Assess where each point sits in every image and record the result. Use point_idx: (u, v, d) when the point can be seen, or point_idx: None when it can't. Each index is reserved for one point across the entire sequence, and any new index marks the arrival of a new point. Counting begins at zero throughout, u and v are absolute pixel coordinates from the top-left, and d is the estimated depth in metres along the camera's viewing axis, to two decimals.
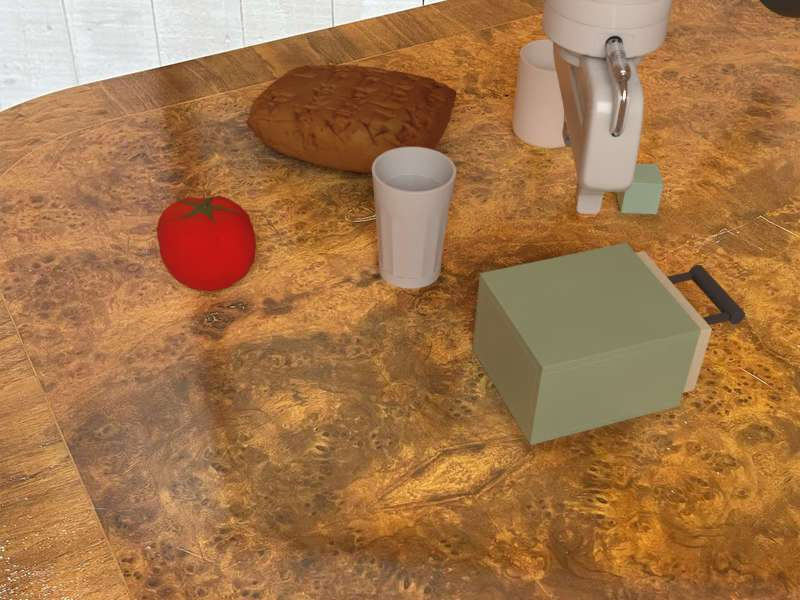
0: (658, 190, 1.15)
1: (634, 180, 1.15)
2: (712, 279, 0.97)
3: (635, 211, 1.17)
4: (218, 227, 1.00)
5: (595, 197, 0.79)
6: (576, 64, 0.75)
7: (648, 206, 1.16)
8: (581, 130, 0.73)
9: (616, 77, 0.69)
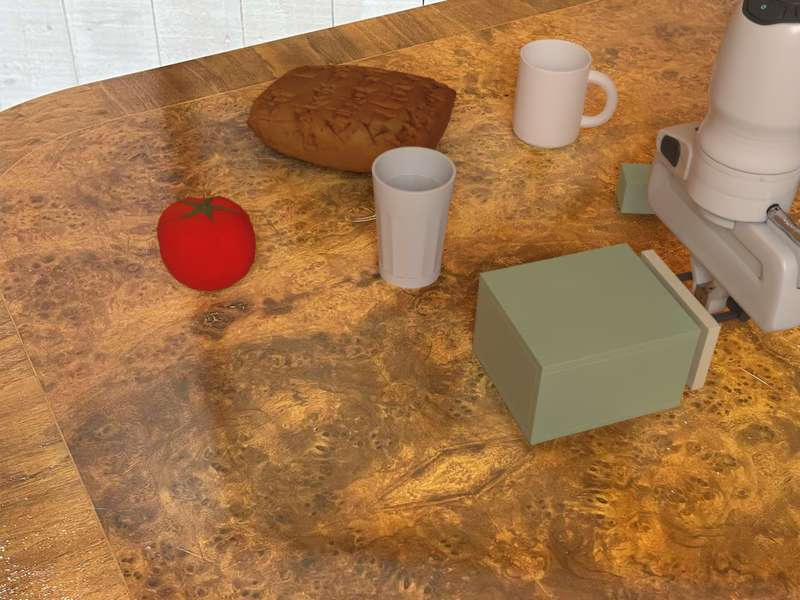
0: None
1: (634, 180, 1.15)
2: None
3: (635, 211, 1.17)
4: (218, 227, 1.00)
5: (723, 299, 0.95)
6: (730, 227, 0.88)
7: (648, 206, 1.16)
8: (757, 284, 0.86)
9: None
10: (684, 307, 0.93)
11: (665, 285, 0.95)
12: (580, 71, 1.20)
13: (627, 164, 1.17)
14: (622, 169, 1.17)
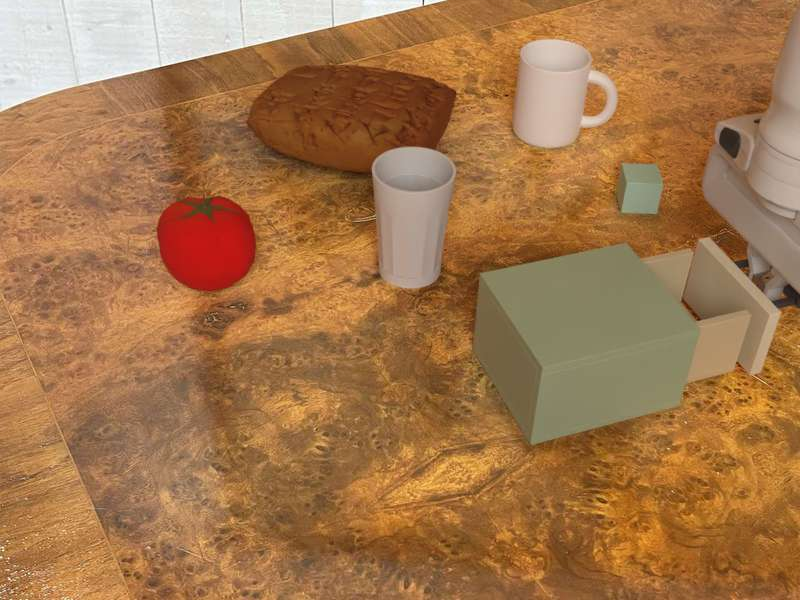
0: (658, 190, 1.15)
1: (634, 180, 1.15)
2: None
3: (635, 211, 1.17)
4: (218, 227, 1.00)
5: (780, 288, 0.97)
6: (791, 217, 0.89)
7: (648, 206, 1.16)
8: None
9: None
10: (743, 293, 0.95)
11: (723, 272, 0.97)
12: (580, 71, 1.20)
13: (627, 164, 1.17)
14: (622, 169, 1.17)
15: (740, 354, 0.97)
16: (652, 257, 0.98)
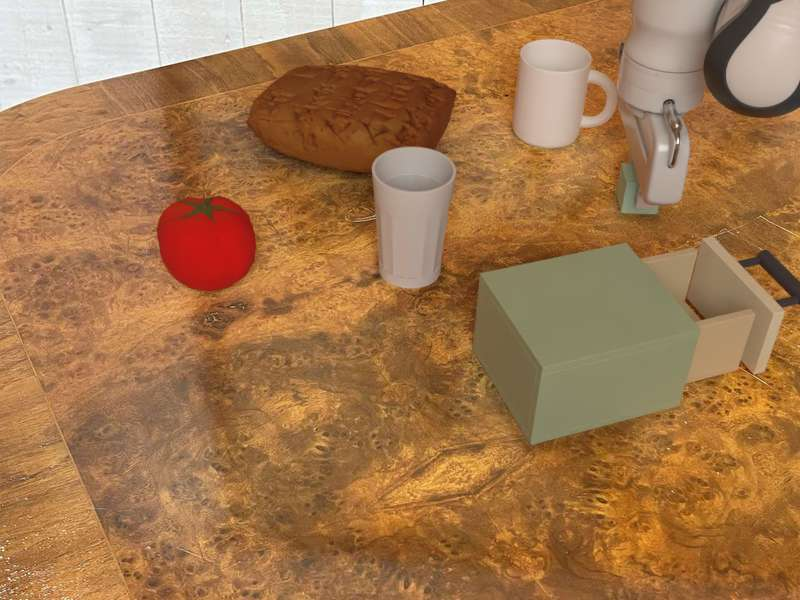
0: None
1: (634, 180, 1.15)
2: (780, 264, 0.99)
3: (635, 211, 1.16)
4: (218, 227, 1.00)
5: None
6: (641, 116, 1.08)
7: None
8: (645, 163, 1.07)
9: (672, 128, 1.02)
10: (747, 292, 0.95)
11: (727, 271, 0.97)
12: (580, 71, 1.20)
13: (627, 164, 1.17)
14: (622, 169, 1.17)
15: (744, 353, 0.97)
16: (656, 256, 0.98)
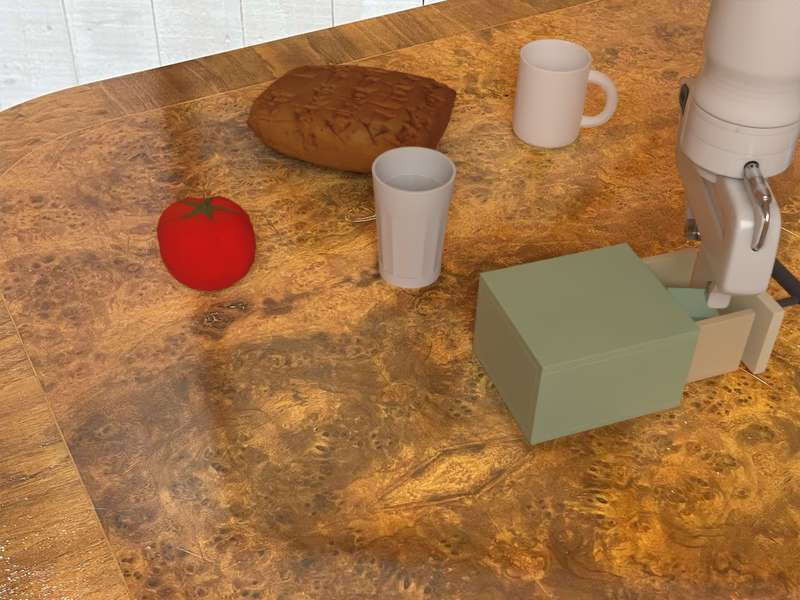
0: None
1: None
2: (780, 264, 0.99)
3: None
4: (218, 227, 1.00)
5: (725, 294, 0.88)
6: (713, 181, 0.85)
7: None
8: (720, 242, 0.83)
9: (759, 201, 0.78)
10: None
11: None
12: (580, 71, 1.20)
13: (674, 289, 0.97)
14: None
15: (744, 353, 0.97)
16: (656, 256, 0.98)
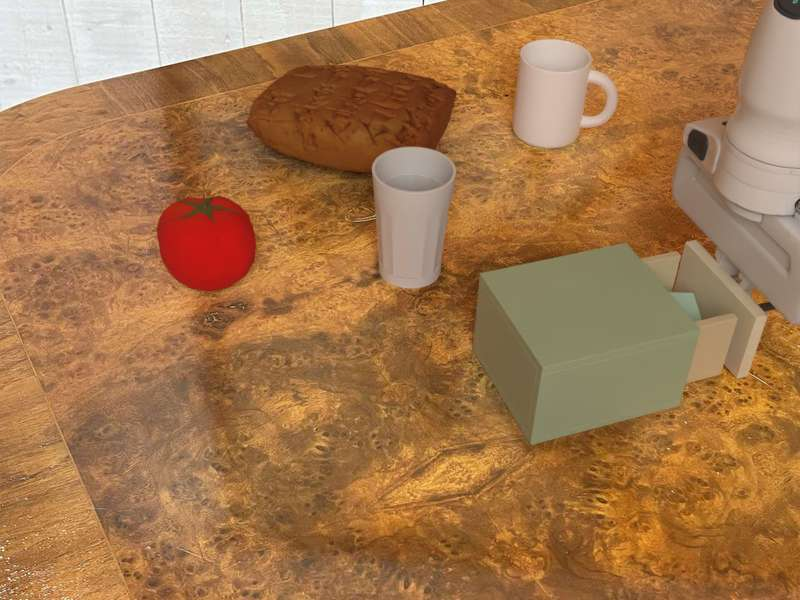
0: None
1: None
2: None
3: None
4: (218, 227, 1.00)
5: (748, 292, 0.96)
6: (758, 220, 0.88)
7: None
8: (785, 277, 0.87)
9: None
10: (729, 296, 0.94)
11: (710, 275, 0.96)
12: (580, 71, 1.20)
13: None
14: None
15: (727, 357, 0.97)
16: None
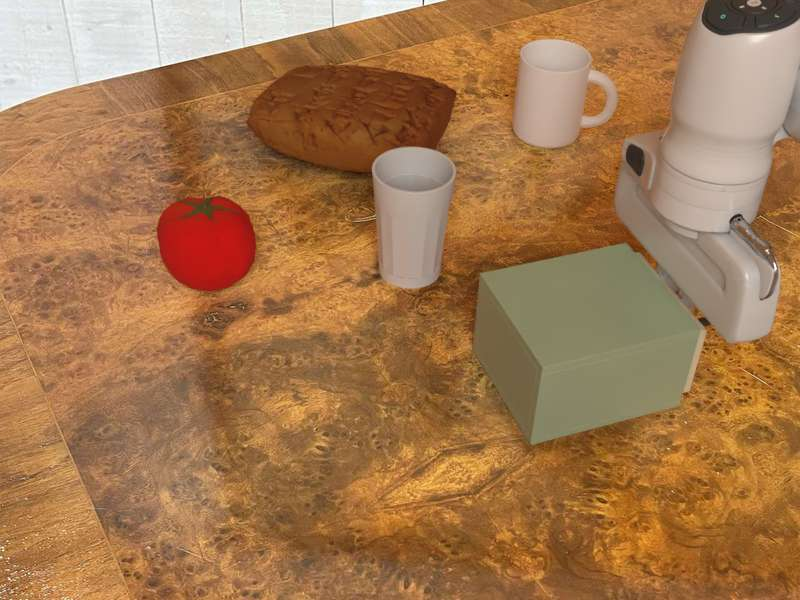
0: None
1: None
2: None
3: None
4: (218, 227, 1.00)
5: (689, 309, 0.94)
6: (694, 237, 0.87)
7: None
8: (721, 295, 0.85)
9: (763, 255, 0.81)
10: None
11: None
12: (580, 71, 1.20)
13: None
14: None
15: None
16: None
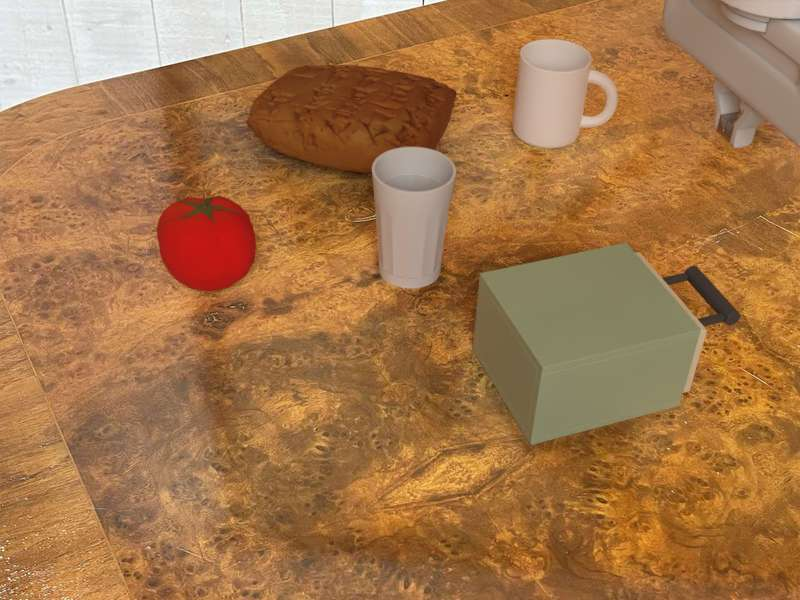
0: None
1: None
2: (707, 280, 0.97)
3: None
4: (218, 227, 1.00)
5: (751, 129, 0.83)
6: (762, 29, 0.76)
7: None
8: (794, 92, 0.74)
9: None
10: None
11: None
12: (580, 71, 1.20)
13: None
14: None
15: None
16: None
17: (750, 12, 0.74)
